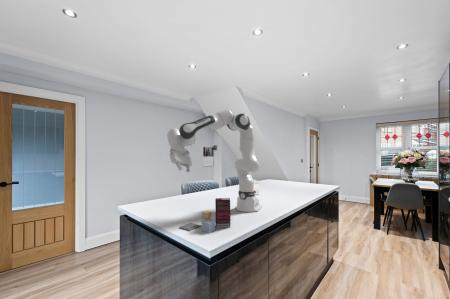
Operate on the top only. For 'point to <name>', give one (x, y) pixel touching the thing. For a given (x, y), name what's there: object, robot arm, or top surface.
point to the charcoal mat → (190, 226)
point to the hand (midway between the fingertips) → (184, 171)
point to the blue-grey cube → (208, 226)
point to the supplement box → (222, 212)
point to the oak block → (206, 215)
